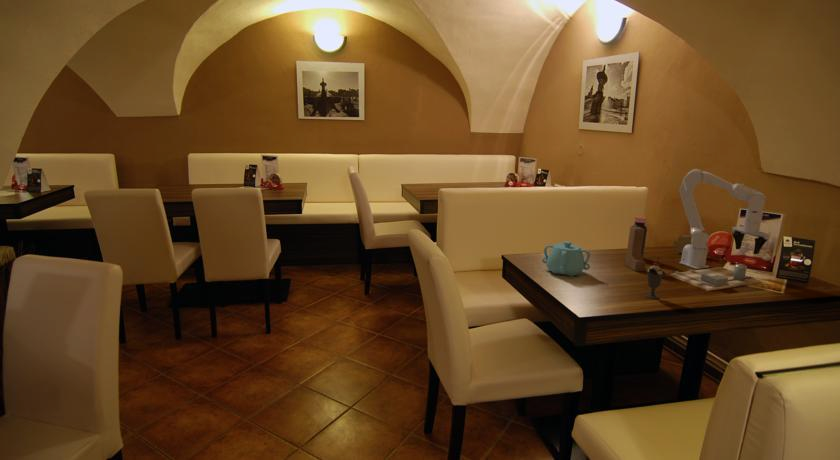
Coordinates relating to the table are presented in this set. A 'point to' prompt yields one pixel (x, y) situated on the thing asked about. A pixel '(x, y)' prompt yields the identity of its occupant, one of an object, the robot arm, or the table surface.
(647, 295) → the sundae
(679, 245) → the wooden carving
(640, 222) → the bottle
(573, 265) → the decorative pot
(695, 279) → the board
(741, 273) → the marker peg
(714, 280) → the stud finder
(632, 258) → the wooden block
